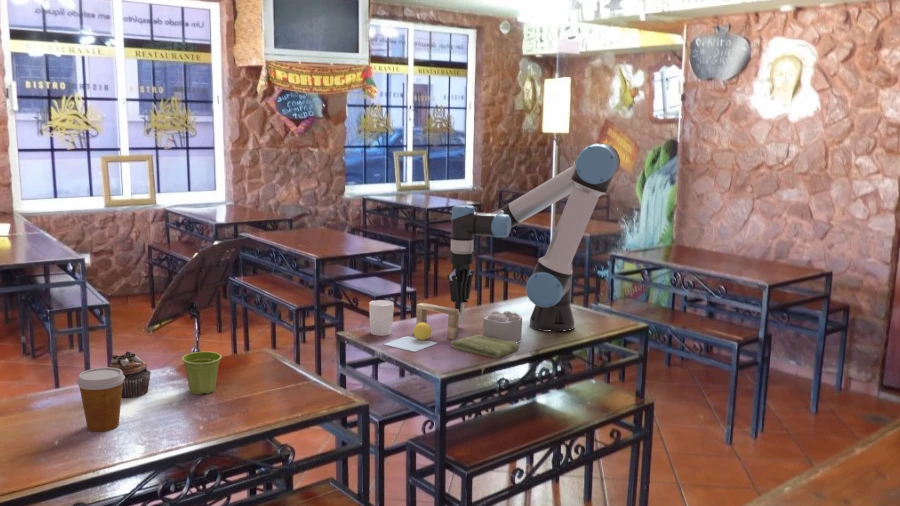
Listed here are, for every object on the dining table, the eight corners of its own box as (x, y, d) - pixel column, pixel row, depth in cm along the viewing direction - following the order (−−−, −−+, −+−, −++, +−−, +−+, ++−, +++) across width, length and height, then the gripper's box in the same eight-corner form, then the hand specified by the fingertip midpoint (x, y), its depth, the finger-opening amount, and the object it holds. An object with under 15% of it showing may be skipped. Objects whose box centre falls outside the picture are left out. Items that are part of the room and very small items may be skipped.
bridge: (421, 329, 257) (422, 302, 255) (458, 337, 249) (459, 309, 247) (416, 331, 254) (416, 304, 253) (452, 339, 246) (453, 311, 245)
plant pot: (229, 387, 197) (229, 354, 196) (206, 399, 188) (206, 364, 187) (198, 382, 200) (197, 349, 199) (174, 393, 191) (173, 359, 190)
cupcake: (132, 402, 185) (130, 361, 183) (100, 396, 188) (98, 356, 187) (160, 389, 194) (158, 351, 192) (128, 384, 197) (127, 346, 196)
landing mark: (437, 343, 242) (437, 342, 242) (414, 352, 232) (414, 351, 232) (407, 336, 248) (407, 336, 248) (383, 344, 238) (383, 344, 238)
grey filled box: (478, 339, 248) (479, 313, 246) (504, 332, 257) (505, 307, 256) (503, 346, 241) (504, 319, 239) (529, 339, 250) (530, 313, 249)
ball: (431, 320, 243) (421, 332, 240) (436, 333, 246) (427, 345, 243) (417, 317, 246) (408, 329, 243) (423, 330, 249) (413, 341, 246)
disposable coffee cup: (88, 418, 175) (86, 366, 173) (132, 418, 175) (130, 366, 173) (72, 435, 165) (69, 380, 163) (118, 434, 166) (116, 380, 164)
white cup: (395, 330, 255) (395, 300, 253) (391, 337, 247) (391, 306, 246) (371, 329, 256) (371, 299, 254) (366, 335, 248) (366, 305, 246)
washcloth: (473, 340, 248) (473, 330, 247) (520, 351, 238) (521, 341, 237) (448, 349, 238) (448, 339, 237) (497, 361, 227) (497, 350, 227)
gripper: (463, 248, 265) (460, 315, 269) (441, 253, 255) (439, 323, 259) (481, 251, 261) (479, 319, 265) (460, 255, 251) (457, 327, 254)
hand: (459, 321), depth 262 cm, fingers closed
